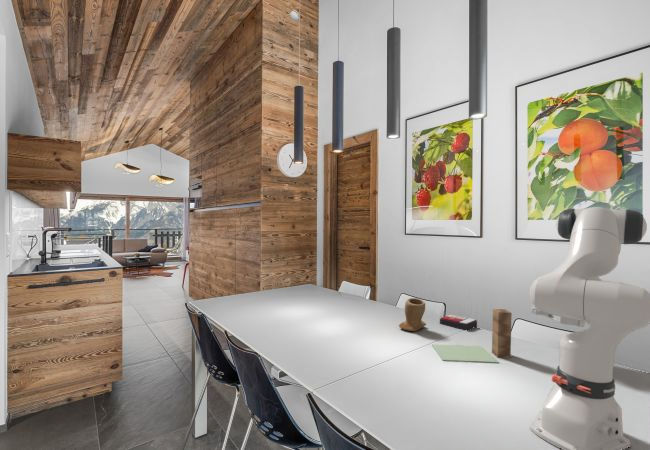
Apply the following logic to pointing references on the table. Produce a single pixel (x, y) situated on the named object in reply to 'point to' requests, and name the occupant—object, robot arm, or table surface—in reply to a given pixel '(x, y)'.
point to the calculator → (458, 322)
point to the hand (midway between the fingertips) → (533, 311)
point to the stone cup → (413, 314)
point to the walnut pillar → (501, 333)
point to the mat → (464, 353)
